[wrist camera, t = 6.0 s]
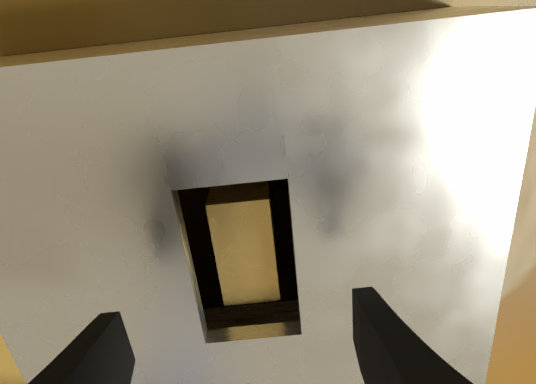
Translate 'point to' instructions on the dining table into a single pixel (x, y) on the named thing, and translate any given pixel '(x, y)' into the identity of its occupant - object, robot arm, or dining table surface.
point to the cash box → (264, 169)
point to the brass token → (244, 242)
